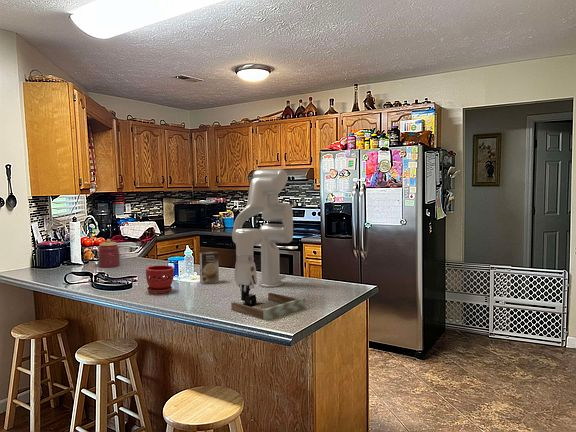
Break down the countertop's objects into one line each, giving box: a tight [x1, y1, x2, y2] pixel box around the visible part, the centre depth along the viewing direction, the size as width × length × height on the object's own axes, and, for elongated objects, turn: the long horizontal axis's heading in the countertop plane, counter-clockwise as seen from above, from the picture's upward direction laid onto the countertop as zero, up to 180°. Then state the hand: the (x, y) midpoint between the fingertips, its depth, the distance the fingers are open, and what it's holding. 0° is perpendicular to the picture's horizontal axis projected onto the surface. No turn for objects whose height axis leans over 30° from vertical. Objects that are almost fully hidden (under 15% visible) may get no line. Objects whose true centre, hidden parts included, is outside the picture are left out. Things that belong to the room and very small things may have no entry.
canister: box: [97, 238, 121, 269], centre depth 278 cm, size 13×13×18 cm
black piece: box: [241, 293, 264, 308], centre depth 187 cm, size 12×7×5 cm, turn 140°
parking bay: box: [230, 292, 306, 321], centre depth 180 cm, size 23×20×4 cm
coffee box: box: [199, 251, 220, 285], centre depth 230 cm, size 9×6×16 cm
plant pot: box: [145, 264, 175, 294], centre depth 210 cm, size 13×13×12 cm
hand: (245, 300), depth 190 cm, fingers closed
